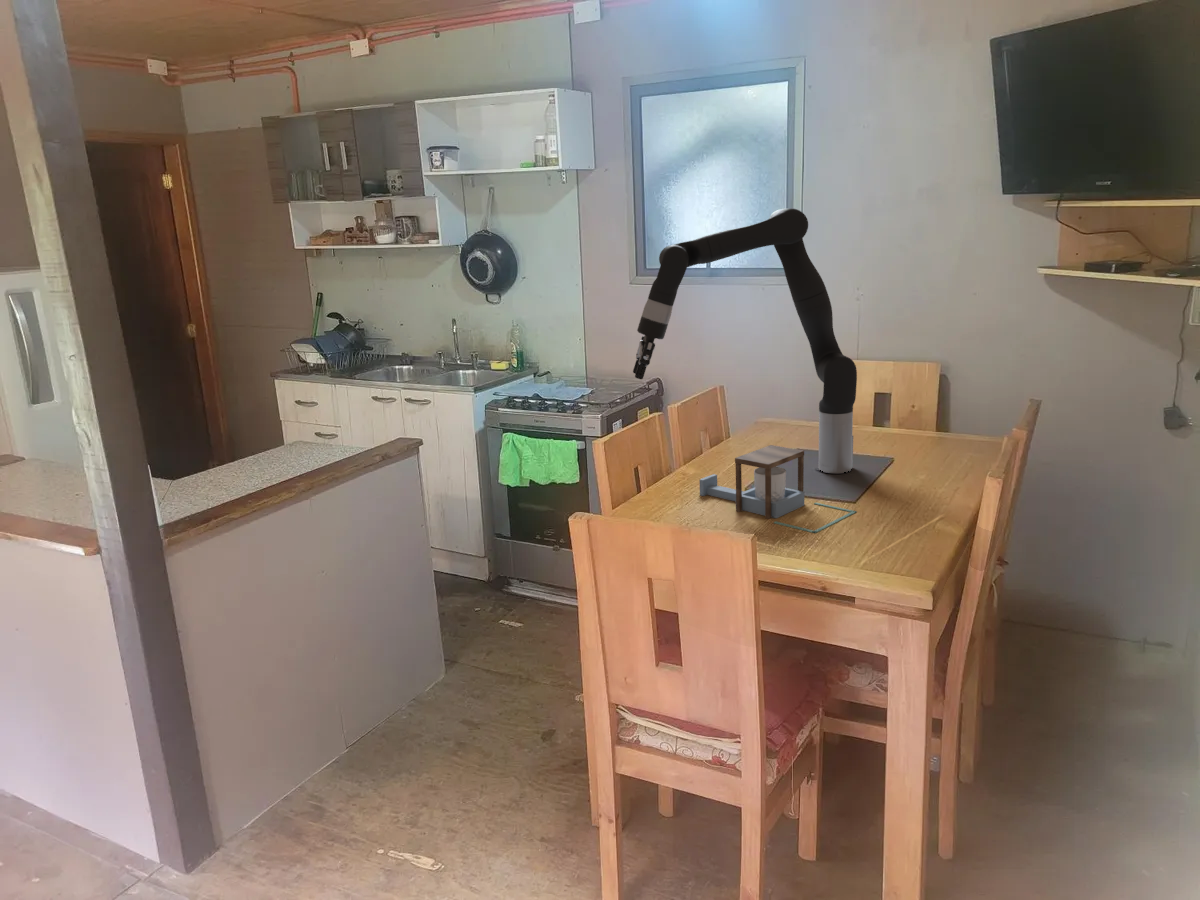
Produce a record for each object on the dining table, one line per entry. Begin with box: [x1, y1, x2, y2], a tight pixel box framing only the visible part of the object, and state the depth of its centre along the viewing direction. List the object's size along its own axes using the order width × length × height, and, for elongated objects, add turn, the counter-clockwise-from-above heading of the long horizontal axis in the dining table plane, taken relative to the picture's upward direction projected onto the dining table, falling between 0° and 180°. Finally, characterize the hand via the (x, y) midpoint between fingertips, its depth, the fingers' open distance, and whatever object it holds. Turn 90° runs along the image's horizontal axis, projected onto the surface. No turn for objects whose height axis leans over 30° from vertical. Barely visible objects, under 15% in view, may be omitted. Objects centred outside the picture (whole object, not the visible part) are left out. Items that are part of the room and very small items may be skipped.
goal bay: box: [773, 502, 858, 534], centre depth 210 cm, size 18×11×1 cm, turn 134°
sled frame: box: [699, 473, 805, 519], centre depth 223 cm, size 12×26×4 cm, turn 44°
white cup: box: [753, 466, 787, 502], centre depth 218 cm, size 8×8×10 cm
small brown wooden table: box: [734, 444, 805, 520], centre depth 217 cm, size 15×10×14 cm, turn 134°
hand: (637, 376), depth 237 cm, fingers open, 8 cm apart
